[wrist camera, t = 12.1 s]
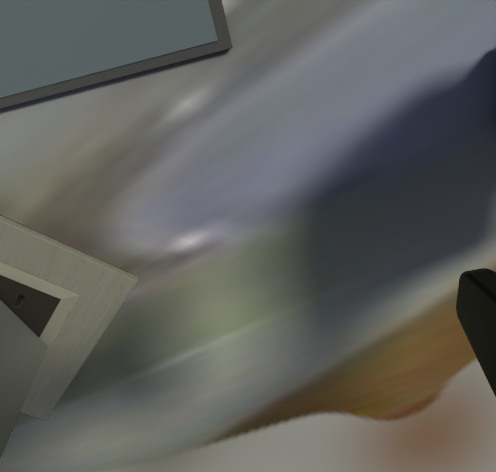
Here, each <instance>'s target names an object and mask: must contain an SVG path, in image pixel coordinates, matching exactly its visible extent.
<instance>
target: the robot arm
mask: <svg viewBox="0 0 496 472" xmlns="http://www.w3.org/2000/svg"><path fill="white" fill-rule="evenodd" d="M456 311H457V316H458V319H459V321H460V323H461V325H462V327H463V329H464V331H465V334H466V336H467V338H468V340H469V342H470V344H471V346H472V348H473V351H474V353H475V355H476V357H477V359H478V361H479V363H480V365H481V367H482V370H483V371H484V373H485V376H486V378H487V380H488V382H489V384H490V386H491V388H492V390H493V392H494V394H495V396H496V272H494V271H492V270H490V269H486V268H482V269H476V270H471V271H466V272H464V273H462V274H461V276H460V279H459V287H458V295H457V302H456Z"/></svg>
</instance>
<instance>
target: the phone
mask: <svg viewBox="0 0 496 472" xmlns="http://www.w3.org/2000/svg"><path fill="white" fill-rule="evenodd" d="M229 48H232V44H231V39H230V35H229V31H228V26H227V22H226V18H225V13H224V9H223V5H222V0H0V108H4V107H8V106H12V105H16V104H20V103H23V102H27V101H31V100H35V99H39V98H42V97H46V96H50V95H54V94H58V93H61V92H65V91H69V90H73V89H77V88H81V87H84V86H88V85H92V84H96V83H100V82H103V81H107V80H111V79H115V78H119V77H123V76H126V75H130V74H134V73H138V72H142V71H145V70H149V69H153V68H157V67H161V66H165V65H168V64H172V63H176V62H180V61H184V60H187V59H191V58H195V57H199V56H203V55H206V54H210V53H214V52H218V51H222V50H226V49H229Z"/></svg>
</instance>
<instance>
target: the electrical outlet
mask: <svg viewBox="0 0 496 472" xmlns="http://www.w3.org/2000/svg"><path fill="white" fill-rule="evenodd" d="M137 281H138V277H136V276H134V275H131V274H129V273H127V272H125V271H123V270H120V269H118V268H116V267H114V266H111V265H109V264H107V263H105V262H103V261H100V260H98V259H96V258H94V257H92V256H89V255H87V254H85V253H83V252H81V251H78V250H76V249H74V248H72V247H70V246H67V245H65V244H63V243H61V242H59V241H56V240H54V239H52V238H50V237H48V236H46V235H43V234H41V233H39V232H37V231H35V230H32V229H30V228H28V227H26V226H23V225H21V224H19V223H17V222H15V221H12V220H10V219H8V218H6V217H3V216H1V215H0V300H1V301H2V302H3V303H4V304H5V305H6V306H7V307H8V308H9V309H10V310H11V311H12V312H13V313H14V314H15V315H16V316H17V317H18V318H19V319H20V320H21V321H22V322H23V323H24V324H25V325H26V326H27V327H29V328H30V329H31V330H32V331H33V332H34V333H35V334H36V335H37V336H38V337H39V338H40V339H41V340H42V341H43V342H44V343H45V344H46V345H47V346H48V349H47V351H46V354H45V356H44V358H43V361H42V363H41V365H40V368H39V370H38V372H37V374H36V377H35V379H34V381H33V384H32V386H31V388H30V391H29V393H28V395H27V397H26V400H25V402H24V404H23V407H22V409H21V411H20V413H22V414H25V415H29V416H32V417H35V418H38V419H42V420H45V421H46V420H47V418H48V417H49V415H50V414H51V412H52V411H53V409H54V408H55V406H56V405H57V403H58V401H59V400H60V398H61V397H62V395H63V394H64V392H65V391H66V389H67V388H68V386H69V385H70V383H71V382H72V380H73V379H74V377H75V376H76V374H77V373H78V371H79V370H80V368H81V366H82V365H83V363H84V362H85V360H86V359H87V357H88V356H89V354H90V353H91V351H92V350H93V348H94V347H95V345H96V344H97V342H98V341H99V339H100V338H101V336H102V335H103V333H104V331H105V330H106V328H107V327H108V325H109V324H110V322H111V321H112V319H113V318H114V316H115V315H116V313H117V312H118V310H119V309H120V307H121V306H122V304H123V303H124V301H125V300H126V298H127V296H128V295H129V293H130V292H131V290H132V289H133V287H134V286H135V284H136V283H137Z"/></svg>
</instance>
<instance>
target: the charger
mask: <svg viewBox="0 0 496 472" xmlns="http://www.w3.org/2000/svg"><path fill="white" fill-rule="evenodd" d="M47 349H48V346H47V345H46V344H45V343H44V342H43V341H42V340H41V339H40V338H39V337H38V336H37V335H36V334H35V333H34V332H33V331H32V330H31V329H30V328H29V327H27V326H26V325H25V324H24V323H23V322H22V321H21V320H20V319H19V318H18V317H17V316H16V315H15V314H14V313H13V312H12V311H11V310H10V309H9V308H8V307H7V306H6V305H5V304H4V303H3V302H2V301H1V300H0V457H1V455H2V453H3V450H4V448H5V446H6V443H7V441H8V439H9V437H10V434H11V432H12V430H13V427H14V425H15V423H16V420H17V418H18V416H19V414H20V411H21V409H22V407H23V404H24V402H25V400H26V397H27V395H28V393H29V391H30V388H31V386H32V384H33V381H34V379H35V377H36V374H37V372H38V370H39V368H40V365H41V363H42V361H43V358H44V356H45V354H46V351H47Z"/></svg>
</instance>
